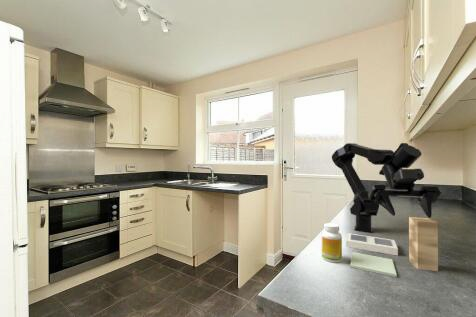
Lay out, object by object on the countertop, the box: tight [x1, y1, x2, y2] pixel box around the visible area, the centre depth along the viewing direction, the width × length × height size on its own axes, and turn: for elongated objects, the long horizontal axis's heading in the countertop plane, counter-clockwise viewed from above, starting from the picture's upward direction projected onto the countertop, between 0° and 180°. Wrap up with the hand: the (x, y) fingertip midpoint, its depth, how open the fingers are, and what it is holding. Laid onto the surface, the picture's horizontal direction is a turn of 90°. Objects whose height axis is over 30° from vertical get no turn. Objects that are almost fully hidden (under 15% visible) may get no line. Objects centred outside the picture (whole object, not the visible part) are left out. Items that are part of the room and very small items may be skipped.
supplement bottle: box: [321, 222, 343, 263], centre depth 64 cm, size 5×5×10 cm
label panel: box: [345, 232, 399, 256], centre depth 74 cm, size 9×14×2 cm, turn 61°
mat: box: [350, 251, 398, 278], centre depth 61 cm, size 10×10×1 cm
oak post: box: [408, 216, 439, 272], centre depth 60 cm, size 4×4×12 cm
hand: (411, 216), depth 66 cm, fingers open, 9 cm apart
